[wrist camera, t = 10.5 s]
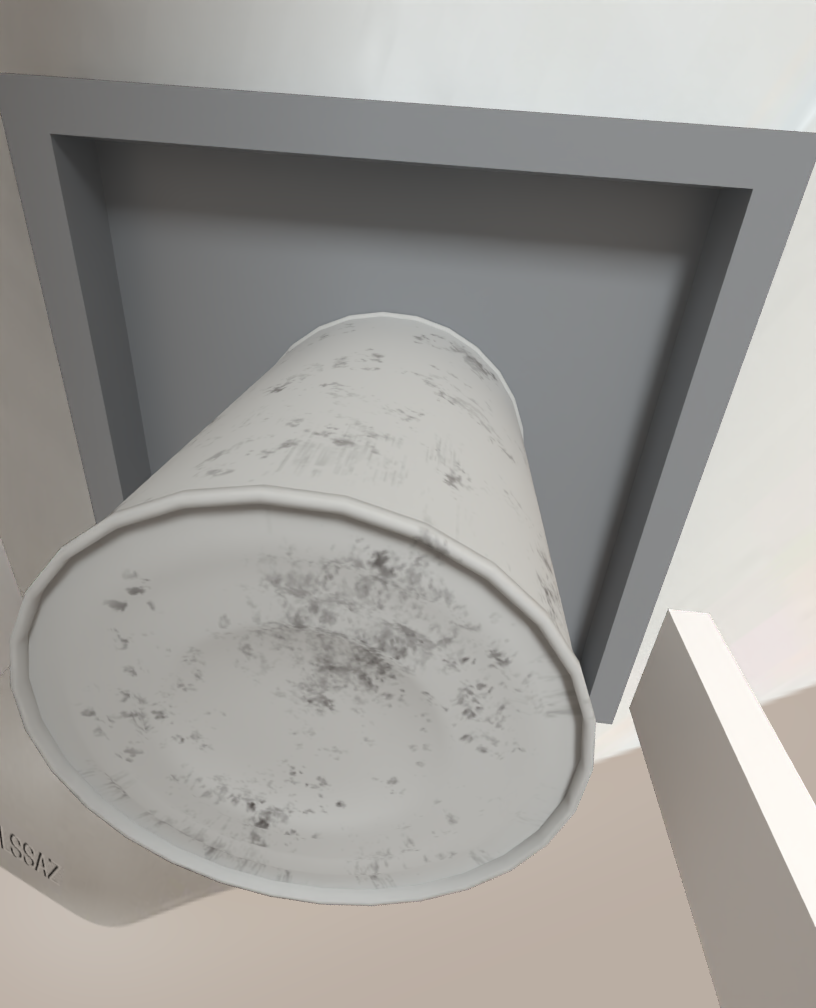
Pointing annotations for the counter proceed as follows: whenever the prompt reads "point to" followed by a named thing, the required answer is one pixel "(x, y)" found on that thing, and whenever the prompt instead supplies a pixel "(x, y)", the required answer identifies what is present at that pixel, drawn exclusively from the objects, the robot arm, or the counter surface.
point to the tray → (415, 286)
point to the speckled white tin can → (322, 635)
